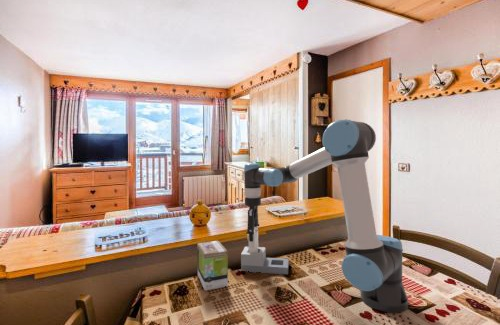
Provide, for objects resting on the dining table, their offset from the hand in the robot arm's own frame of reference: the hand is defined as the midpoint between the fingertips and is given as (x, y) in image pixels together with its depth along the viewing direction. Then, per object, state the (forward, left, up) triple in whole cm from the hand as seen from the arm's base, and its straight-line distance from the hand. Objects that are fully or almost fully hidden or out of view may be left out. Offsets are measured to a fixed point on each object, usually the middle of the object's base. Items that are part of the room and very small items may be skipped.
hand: (253, 243), depth 124 cm
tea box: (-15, +15, -12) cm, 24 cm away
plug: (0, 0, -6) cm, 6 cm away
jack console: (0, -6, -11) cm, 13 cm away
